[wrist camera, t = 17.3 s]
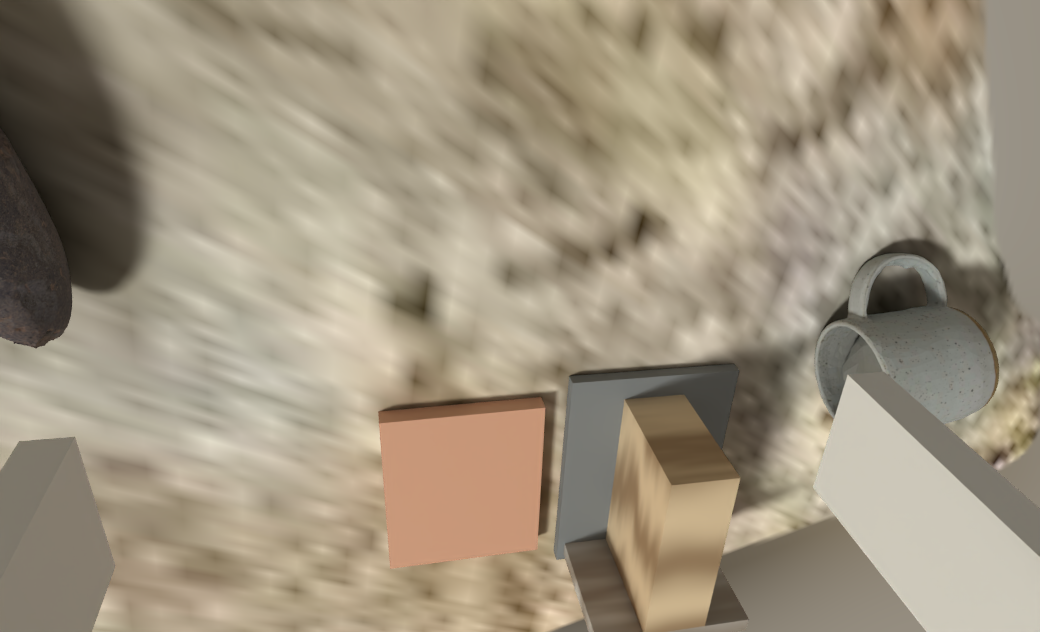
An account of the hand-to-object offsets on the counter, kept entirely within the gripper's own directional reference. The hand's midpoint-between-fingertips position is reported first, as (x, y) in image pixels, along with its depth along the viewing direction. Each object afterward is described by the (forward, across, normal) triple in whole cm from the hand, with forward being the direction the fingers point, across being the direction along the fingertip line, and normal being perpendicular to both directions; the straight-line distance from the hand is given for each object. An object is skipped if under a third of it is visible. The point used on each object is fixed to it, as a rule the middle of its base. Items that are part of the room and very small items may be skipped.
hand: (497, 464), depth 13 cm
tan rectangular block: (+26, +15, -24) cm, 38 cm away
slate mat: (+27, +15, -24) cm, 39 cm away
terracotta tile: (+26, +3, -18) cm, 32 cm away
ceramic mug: (+27, +30, -14) cm, 43 cm away
